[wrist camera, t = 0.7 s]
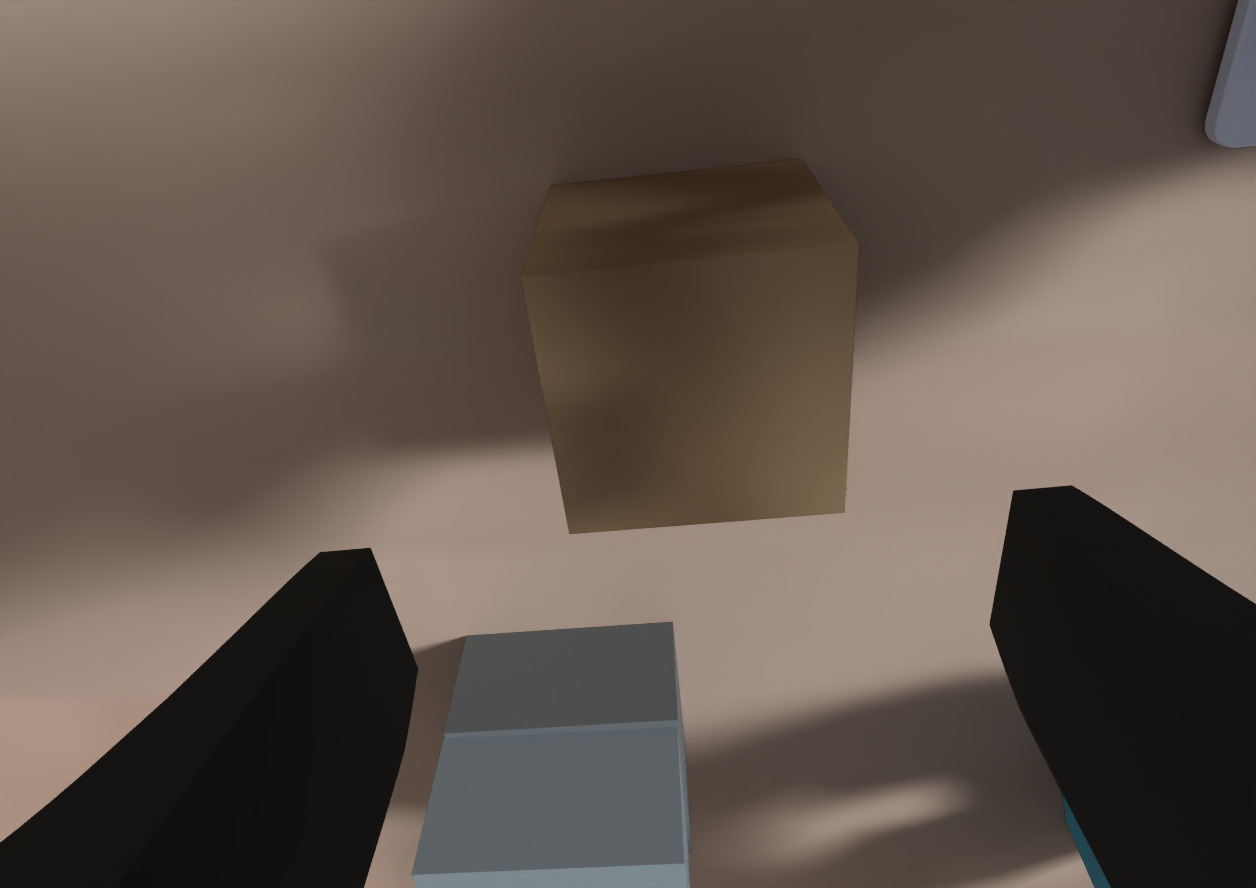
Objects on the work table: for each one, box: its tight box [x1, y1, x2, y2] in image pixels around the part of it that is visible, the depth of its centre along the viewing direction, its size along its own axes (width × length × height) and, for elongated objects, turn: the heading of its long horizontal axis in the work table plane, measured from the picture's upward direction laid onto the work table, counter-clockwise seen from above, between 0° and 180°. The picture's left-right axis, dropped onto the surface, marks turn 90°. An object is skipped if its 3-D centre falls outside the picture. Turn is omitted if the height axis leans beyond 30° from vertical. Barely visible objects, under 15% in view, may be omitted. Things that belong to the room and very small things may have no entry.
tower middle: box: [412, 727, 691, 888], centre depth 20 cm, size 6×6×4 cm
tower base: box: [443, 622, 692, 852], centre depth 23 cm, size 6×6×4 cm
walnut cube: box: [520, 159, 859, 534], centre depth 15 cm, size 5×5×5 cm
